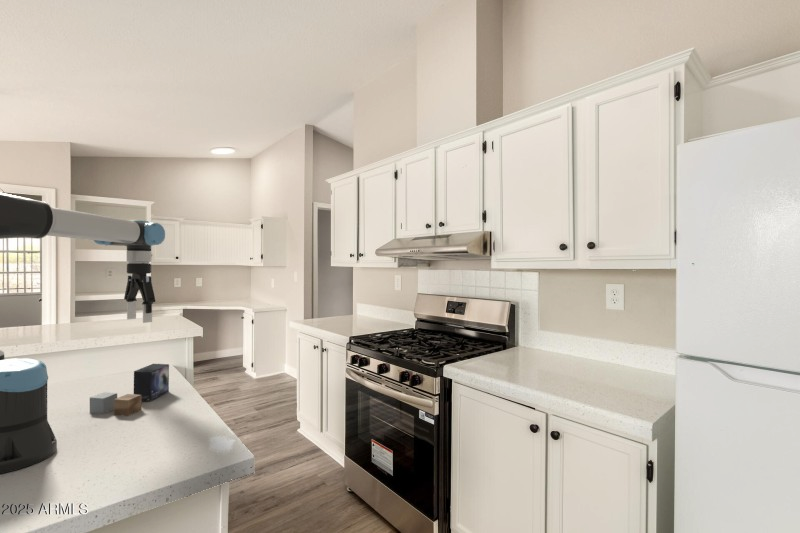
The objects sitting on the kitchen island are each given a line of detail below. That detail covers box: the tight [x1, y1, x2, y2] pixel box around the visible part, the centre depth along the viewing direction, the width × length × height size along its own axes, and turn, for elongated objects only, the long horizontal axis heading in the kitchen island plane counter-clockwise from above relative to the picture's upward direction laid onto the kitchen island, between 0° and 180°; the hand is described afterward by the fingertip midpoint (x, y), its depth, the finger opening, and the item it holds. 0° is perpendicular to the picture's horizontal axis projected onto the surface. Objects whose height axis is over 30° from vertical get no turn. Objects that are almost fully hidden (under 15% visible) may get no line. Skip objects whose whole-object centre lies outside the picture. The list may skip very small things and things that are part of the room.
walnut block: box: [113, 393, 142, 417], centre depth 123 cm, size 5×5×5 cm
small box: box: [133, 363, 170, 403], centre depth 138 cm, size 11×6×10 cm, turn 179°
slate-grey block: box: [89, 391, 118, 415], centre depth 125 cm, size 5×5×5 cm
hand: (139, 320), depth 143 cm, fingers open, 13 cm apart
